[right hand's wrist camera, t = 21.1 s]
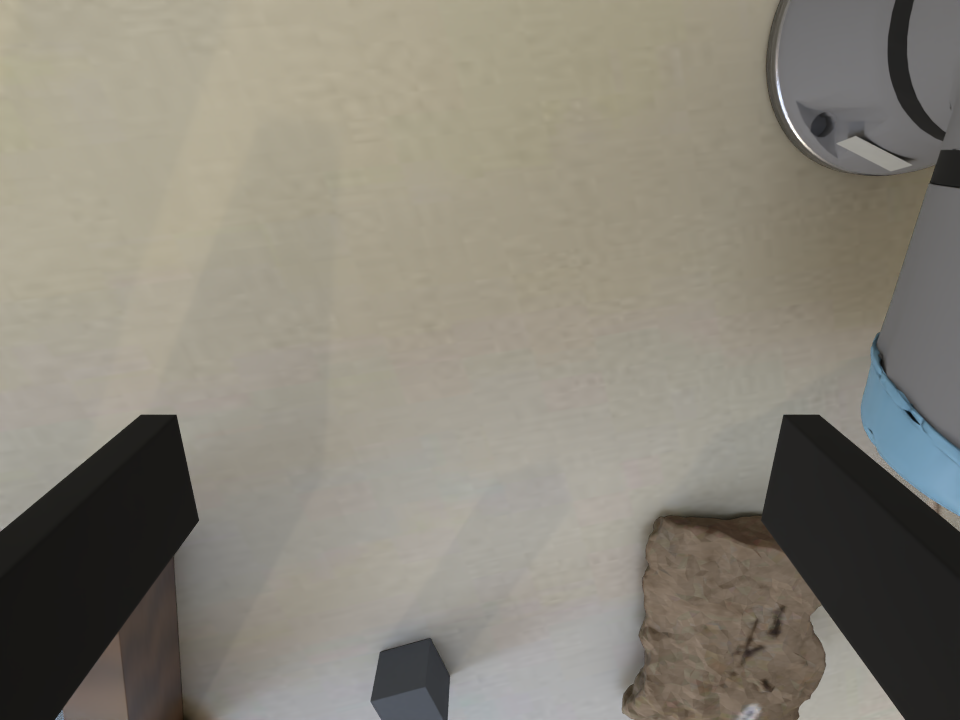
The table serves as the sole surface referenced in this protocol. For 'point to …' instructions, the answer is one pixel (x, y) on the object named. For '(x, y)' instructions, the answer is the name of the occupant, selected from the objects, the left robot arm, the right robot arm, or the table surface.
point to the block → (411, 683)
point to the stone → (723, 625)
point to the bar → (137, 665)
